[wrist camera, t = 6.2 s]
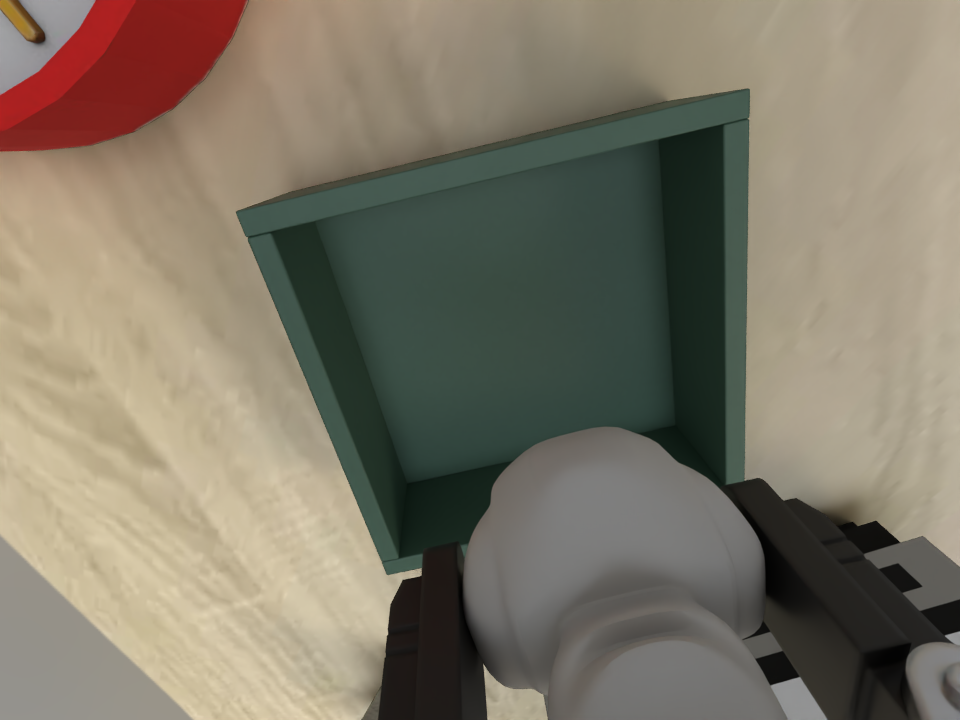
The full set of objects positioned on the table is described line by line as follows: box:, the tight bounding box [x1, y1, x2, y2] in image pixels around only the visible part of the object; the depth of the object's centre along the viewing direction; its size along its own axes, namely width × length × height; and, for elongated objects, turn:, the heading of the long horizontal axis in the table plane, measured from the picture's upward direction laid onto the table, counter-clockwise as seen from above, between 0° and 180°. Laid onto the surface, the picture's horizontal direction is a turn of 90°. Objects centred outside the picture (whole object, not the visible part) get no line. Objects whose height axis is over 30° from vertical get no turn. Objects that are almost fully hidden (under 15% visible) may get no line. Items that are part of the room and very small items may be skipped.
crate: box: [236, 89, 750, 575], centre depth 20 cm, size 16×16×6 cm
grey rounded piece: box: [462, 427, 788, 720], centre depth 8 cm, size 5×7×8 cm
